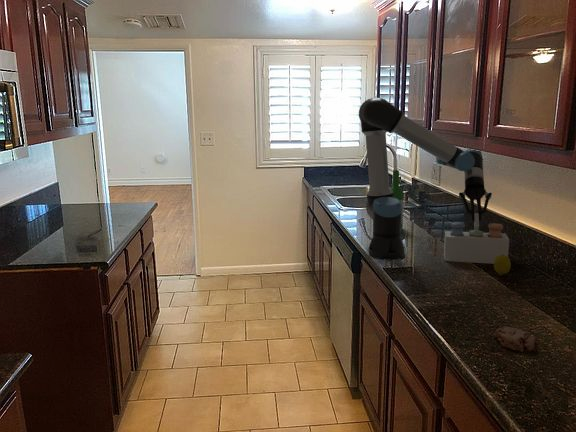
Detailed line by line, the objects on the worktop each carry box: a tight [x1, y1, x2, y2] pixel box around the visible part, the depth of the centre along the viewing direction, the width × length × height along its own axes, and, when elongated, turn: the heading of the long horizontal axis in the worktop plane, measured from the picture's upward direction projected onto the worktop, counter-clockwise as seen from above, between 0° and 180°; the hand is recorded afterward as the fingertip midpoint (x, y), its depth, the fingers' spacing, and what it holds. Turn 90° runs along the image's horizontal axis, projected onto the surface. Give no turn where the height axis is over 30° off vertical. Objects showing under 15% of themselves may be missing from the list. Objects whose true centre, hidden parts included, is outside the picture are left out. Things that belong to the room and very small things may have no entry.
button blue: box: [450, 221, 466, 236], centre depth 184 cm, size 5×5×6 cm
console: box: [443, 230, 510, 265], centre depth 184 cm, size 23×9×10 cm, turn 74°
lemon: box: [493, 254, 512, 276], centre depth 165 cm, size 6×6×8 cm
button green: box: [468, 229, 484, 237], centre depth 183 cm, size 5×5×6 cm
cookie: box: [493, 326, 537, 353], centre depth 120 cm, size 10×11×3 cm
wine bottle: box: [389, 169, 404, 230], centre depth 231 cm, size 8×8×30 cm
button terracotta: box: [487, 222, 504, 238], centre depth 180 cm, size 5×5×6 cm
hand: (476, 228), depth 182 cm, fingers closed
